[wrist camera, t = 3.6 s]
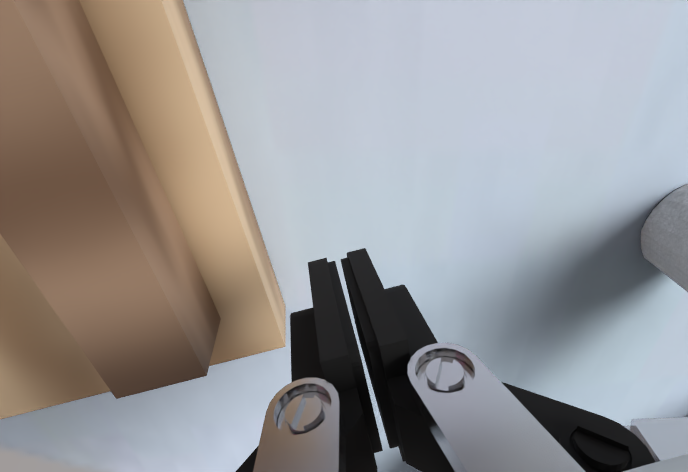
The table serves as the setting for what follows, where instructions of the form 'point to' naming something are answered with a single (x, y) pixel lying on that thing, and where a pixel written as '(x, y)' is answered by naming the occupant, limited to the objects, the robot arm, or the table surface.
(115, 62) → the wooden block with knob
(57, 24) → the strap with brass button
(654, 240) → the house plant
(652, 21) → the table surface
